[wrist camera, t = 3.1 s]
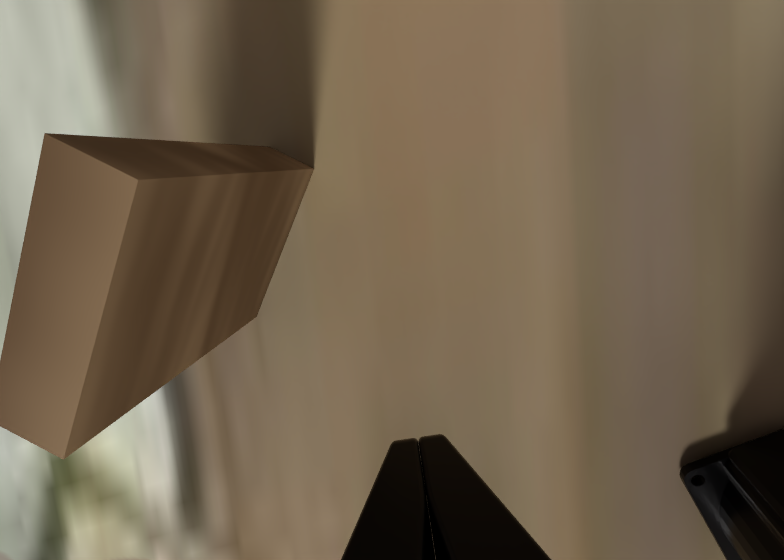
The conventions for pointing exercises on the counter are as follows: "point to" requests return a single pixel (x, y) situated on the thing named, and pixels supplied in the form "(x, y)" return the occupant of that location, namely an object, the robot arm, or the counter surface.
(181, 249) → the walnut tile
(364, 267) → the counter surface
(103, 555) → the counter surface
